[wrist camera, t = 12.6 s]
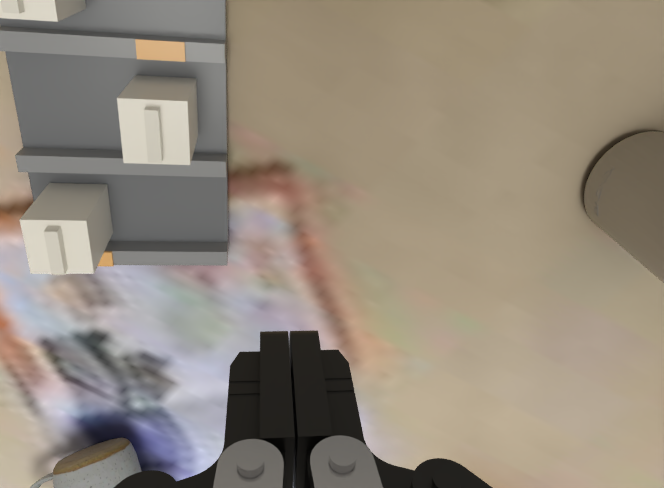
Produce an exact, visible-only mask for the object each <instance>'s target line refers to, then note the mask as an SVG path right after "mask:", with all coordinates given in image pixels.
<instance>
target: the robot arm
mask: <svg viewBox="0 0 664 488" xmlns="http://www.w3.org/2000/svg"><path fill="white" fill-rule="evenodd" d="M584 204H585V208H586V212H587V214H588V216H589V217H590V219H591V220H592V221H593V222H594V223H595V224H596V225H597V226H598V227H599V228H601V229H602V230H603V231H604V232H605V233H606V234H608V235H609V236H610V237H611V238H612V239H613V240H614V241H616V242H617V243H618V244H619V245H620V246H621V247H622V248H624V249H625V250H626V251H627V252H628V253H629V254H631V255H632V256H633V257H634V258H635V259H636V260H638V261H639V262H640V263H641V264H642V265H643V266H645V267H646V268H647V269H648V270H649V271H651V272H652V273H653V274H654V275H655V276H656V277H658V278H659V279H660V280H661V281H662V282H663V283H664V132H657V131H649V132H643V133H638V134H635V135H633V136H630V137H627V138H626V139H624V140H622V141H620V142H619V143H617V144H616V145H614V146H613V147H612V148H611V149H609V150H608V151H607V152H606V153H605V154H604V155H603V156H602V157H601V158H600V160H599V161H598V162H597V163H596V165H595V166H594V168H593V170H592V171H591V173H590V175H589V178H588V180H587V183H586V187H585V192H584ZM114 488H492V487H491V486H489V485H488V484H487V483H485V482H484V481H483V480H481V479H480V478H478V477H477V476H476V475H474V474H473V473H472V472H470V471H469V470H468V469H466V468H465V467H463V466H462V465H460V464H458V463H456V462H454V461H451V460H447V459H440V458H437V459H430V460H427V461H425V462H423V463H421V464H420V465H419V466H418V467H417V468H416V469H415V471H414V470H410V469H406V468H402V467H397V466H394V465H391V464H388V463H386V462H384V461H382V460H380V459H379V458H378V457H376V456H375V455H374V454H373V453H372V452H371V451H370V449H369V448H368V447H367V445H366V443H365V440H364V437H363V432H362V427H361V422H360V417H359V412H358V407H357V402H356V397H355V393H354V387H353V382H352V377H351V372H350V367H349V363H348V361H347V360H346V359H345V358H344V357H343V355H342V354H341V353H340V352H339V350H321V349H320V342H319V335H318V331H290V340H289V338H288V331H273V332H260V352H239V354H238V355H237V357H236V358H235V360H234V361H233V363H232V364H231V366H230V376H229V389H228V402H227V415H226V429H225V442H224V448H223V451H222V453H221V455H220V457H219V458H218V460H217V461H216V462H215V463H214V464H213V465H212V466H211V467H209V468H208V469H207V470H205V471H203V472H202V473H200V474H197V475H195V476H192V477H189V478H186V479H183V480H180V481H177V482H176V481H175V479H174V478H173V477H171V476H170V475H168V474H166V473H164V472H161V471H142V472H138V473H135V474H133V475H130V476H129V477H127V478H125V479H124V480H122V481H121V482H120V483H118V484H117V485H116V486H115V487H114Z"/></svg>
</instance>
